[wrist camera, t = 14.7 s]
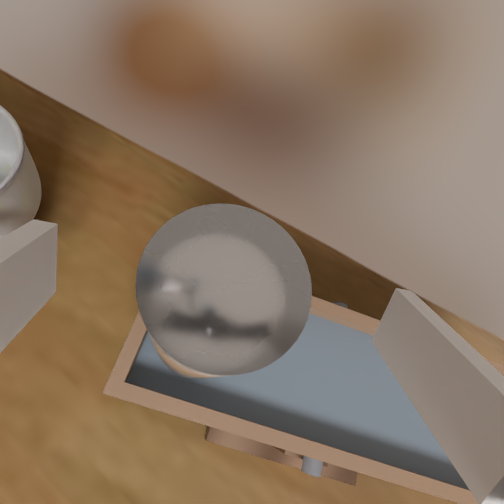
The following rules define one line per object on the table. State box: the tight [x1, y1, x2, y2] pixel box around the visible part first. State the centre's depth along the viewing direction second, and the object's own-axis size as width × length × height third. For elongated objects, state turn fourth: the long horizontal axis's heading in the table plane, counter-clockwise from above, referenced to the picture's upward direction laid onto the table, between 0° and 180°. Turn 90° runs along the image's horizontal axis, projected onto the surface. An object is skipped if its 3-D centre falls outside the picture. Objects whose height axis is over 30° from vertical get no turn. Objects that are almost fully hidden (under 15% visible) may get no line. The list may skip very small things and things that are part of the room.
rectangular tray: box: [103, 296, 504, 504], centre depth 21 cm, size 26×11×3 cm, turn 73°
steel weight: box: [136, 203, 312, 379], centre depth 15 cm, size 5×5×12 cm
